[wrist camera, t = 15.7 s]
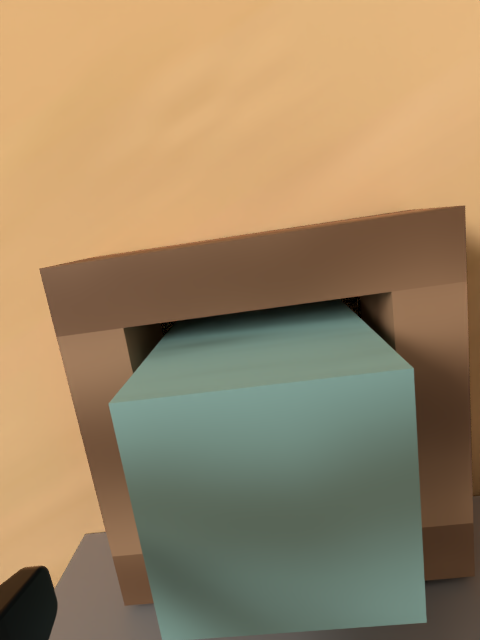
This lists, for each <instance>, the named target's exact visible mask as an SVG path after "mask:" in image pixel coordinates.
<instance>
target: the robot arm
mask: <svg viewBox="0 0 480 640" xmlns="http://www.w3.org/2000/svg"><path fill="white" fill-rule="evenodd" d="M57 609H58V602H57V597H56V594H55V591H54V587H53V584H52V580H51V577H50V574H49V571H48V569H47V568H46V567H45V566H33V567H25V568H23V569H21V570H19V571H18V572H17V573H15V574H14V575H13V576H11V577H10V578H9V579H8V580H6V581H5V582H4V583H2V584H1V585H0V640H49V638H50V634H51V631H52V628H53V625H54V622H55V619H56V615H57Z"/></svg>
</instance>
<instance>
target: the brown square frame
mask: <svg viewBox="0 0 480 640" xmlns="http://www.w3.org/2000/svg"><path fill="white" fill-rule="evenodd" d="M39 270H40V273H41V277H42V281H43V285H44V289H45V293H46V297H47V301H48V305H49V309H50V313H51V317H52V321H53V325H54V329H55V333H56V337H57V341H58V344H59V348H60V352H61V356H62V360H63V364H64V368H65V372H66V376H67V380H68V384H69V388H70V392H71V396H72V400H73V404H74V408H75V412H76V416H77V419H78V423H79V427H80V431H81V435H82V439H83V443H84V447H85V451H86V455H87V459H88V463H89V467H90V471H91V475H92V479H93V483H94V487H95V490H96V494H97V498H98V502H99V506H100V510H101V514H102V518H103V522H104V526H105V530H106V534H107V538H108V542H109V546H110V550H111V554H112V558H113V561H114V565H115V569H116V573H117V577H118V581H119V585H120V589H121V593H122V597H123V601H124V605H125V606H128V605H140V604H152V603H154V602H153V597H152V593H151V589H150V584H149V580H148V575H147V571H146V567H145V562H144V558H143V553H142V549H141V545H140V540H139V536H138V531H137V527H136V523H135V518H134V514H133V509H132V505H131V501H130V496H129V492H128V487H127V483H126V479H125V474H124V470H123V465H122V461H121V457H120V452H119V448H118V443H117V439H116V435H115V430H114V426H113V422H112V417H111V413H110V408H109V402H110V401H111V400H112V399H113V398H114V396H115V395H116V394H117V393H118V391H119V390H120V389H121V388H122V387H123V385H124V384H125V383H126V382H127V381H128V379H129V378H130V377H131V376H132V374H133V373H134V372H135V371H136V370H137V368H138V367H139V366H140V365H141V364H142V362H143V361H144V360H145V359H146V358H147V356H148V355H149V354H150V353H151V351H152V350H153V349H154V348H155V347H156V345H157V344H158V343H159V342H160V341H161V339H162V338H163V334H162V329H161V324H160V323H164V322H171V321H179V320H186V319H193V318H201V317H208V316H216V315H223V314H230V313H238V312H245V311H253V310H260V309H267V308H275V307H282V306H289V305H297V304H304V303H312V302H319V301H326V300H334V299H341V298H349V297H356V296H360V305H361V317H362V320H363V321H364V322H365V323H366V324H367V325H368V326H369V327H370V328H371V329H372V330H373V331H375V332H376V333H377V334H378V335H379V336H380V337H381V338H382V339H383V340H384V341H385V342H386V343H387V344H388V345H389V346H391V347H392V348H393V349H394V350H395V351H396V352H397V353H398V354H399V355H400V356H401V357H402V358H403V359H404V360H405V361H407V362H408V363H409V364H410V365H411V366H412V367H413V368H414V384H415V404H416V423H417V443H418V462H419V482H420V501H421V521H422V540H423V560H424V579H425V581H426V580H438V579H450V578H461V577H473V576H475V563H474V526H473V488H472V451H471V413H470V376H469V338H468V301H467V263H466V226H465V206H454V207H442V208H429V209H417V210H407V211H400V212H394V213H387V214H380V215H374V216H367V217H360V218H354V219H347V220H340V221H333V222H327V223H320V224H313V225H307V226H300V227H293V228H287V229H280V230H273V231H266V232H260V233H253V234H246V235H240V236H233V237H226V238H219V239H213V240H206V241H199V242H193V243H186V244H179V245H173V246H166V247H159V248H152V249H146V250H139V251H132V252H126V253H119V254H112V255H106V256H99V257H93V258H88V259H83V260H79V261H74V262H69V263H64V264H60V265H55V266H50V267H46V268H41V269H39Z"/></svg>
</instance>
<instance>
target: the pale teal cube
mask: <svg viewBox="0 0 480 640" xmlns="http://www.w3.org/2000/svg"><path fill="white" fill-rule="evenodd" d="M109 408H110V413H111V417H112V422H113V426H114V430H115V435H116V439H117V443H118V448H119V452H120V457H121V461H122V465H123V470H124V474H125V479H126V483H127V487H128V492H129V496H130V501H131V505H132V509H133V514H134V518H135V523H136V527H137V531H138V536H139V540H140V545H141V549H142V553H143V558H144V562H145V567H146V571H147V575H148V580H149V584H150V589H151V593H152V597H153V602H154V606H155V611H156V615H157V619H158V624H159V628H160V633H161V637H162V640H194V639H208V638H222V637H235V636H249V635H263V634H277V633H291V632H304V631H318V630H332V629H346V628H359V627H373V626H387V625H401V624H415V623H427V618H426V599H425V579H424V560H423V540H422V521H421V501H420V482H419V462H418V443H417V423H416V404H415V384H414V368H413V367H412V366H411V365H410V364H409V363H408V362H407V361H405V360H404V359H403V358H402V357H401V356H400V355H399V354H398V353H397V352H396V351H395V350H394V349H393V348H392V347H391V346H389V345H388V344H387V343H386V342H385V341H384V340H383V339H382V338H381V337H380V336H379V335H378V334H377V333H376V332H375V331H373V330H372V329H371V328H370V327H369V326H368V325H367V324H366V323H365V322H364V321H363V320H362V319H361V318H360V317H359V316H358V315H356V314H355V313H354V312H353V311H352V310H351V309H350V308H349V307H348V306H347V305H346V304H345V303H344V302H343V301H342V300H340V299H334V300H326V301H319V302H312V303H304V304H297V305H289V306H282V307H275V308H267V309H260V310H253V311H245V312H238V313H230V314H223V315H216V316H208V317H201V318H193V319H186V320H179V321H176V322H175V324H174V325H173V326H172V327H171V328H170V330H169V331H168V332H167V333H166V334H165V336H164V337H163V338H162V339H161V341H160V342H159V343H158V344H157V345H156V347H155V348H154V349H153V350H152V351H151V353H150V354H149V355H148V356H147V358H146V359H145V360H144V361H143V362H142V364H141V365H140V366H139V367H138V368H137V370H136V371H135V372H134V373H133V374H132V376H131V377H130V378H129V379H128V381H127V382H126V383H125V384H124V385H123V387H122V388H121V389H120V390H119V391H118V393H117V394H116V395H115V396H114V398H113V399H112V400H111V401H110V402H109Z"/></svg>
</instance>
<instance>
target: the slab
mask: <svg viewBox="0 0 480 640" xmlns="http://www.w3.org/2000/svg"><path fill="white" fill-rule="evenodd" d="M473 526H474V563H475V576H473V577H461V578H450V579H438V580H426V581H425V599H426V618H427V623H415V624H401V625H387V626H373V627H359V628H346V629H332V630H318V631H304V632H291V633H277V634H263V635H249V636H235V637H222V638H208V639H194V640H480V496H473ZM54 591H55V594H56V597H57V602H58V609H57V615H56V619H55V622H54V625H53V628H52V631H51V634H50V638H49V640H162V637H161V633H160V628H159V624H158V619H157V615H156V611H155V606H154V603H152V604H140V605H128V606H125V605H124V601H123V597H122V593H121V589H120V585H119V581H118V577H117V573H116V569H115V565H114V561H113V558H112V554H111V550H110V546H109V542H108V538H107V534H106V532H103V533H93V534H85V535H84V537H83V539H82V541H81V543H80V544H79V546H78V548H77V550H76V552H75V553H74V555H73V557H72V559H71V561H70V562H69V564H68V566H67V568H66V570H65V571H64V573H63V575H62V577H61V579H60V580H59V582H58V584H57V586H56V588H55V589H54Z"/></svg>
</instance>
